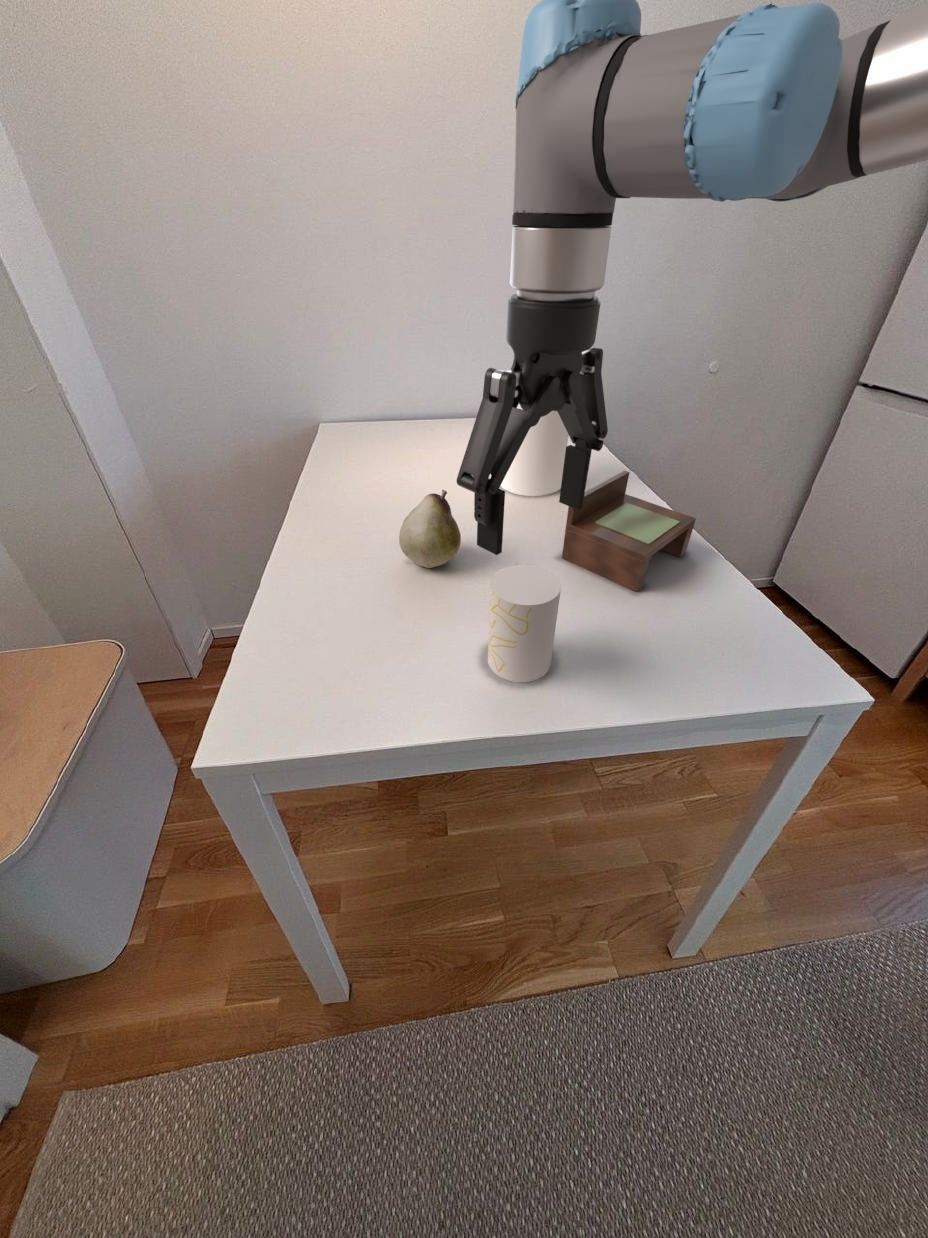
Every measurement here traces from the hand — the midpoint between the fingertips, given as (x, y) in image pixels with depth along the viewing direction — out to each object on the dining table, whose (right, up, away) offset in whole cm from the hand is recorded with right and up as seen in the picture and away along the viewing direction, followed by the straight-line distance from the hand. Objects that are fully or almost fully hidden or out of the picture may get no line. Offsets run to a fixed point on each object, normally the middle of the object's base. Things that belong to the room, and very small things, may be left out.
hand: (532, 525), depth 55 cm
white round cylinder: (0, -15, +12) cm, 19 cm away
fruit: (-13, 0, +31) cm, 33 cm away
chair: (+20, +1, +32) cm, 37 cm away
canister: (+7, +19, +55) cm, 59 cm away
